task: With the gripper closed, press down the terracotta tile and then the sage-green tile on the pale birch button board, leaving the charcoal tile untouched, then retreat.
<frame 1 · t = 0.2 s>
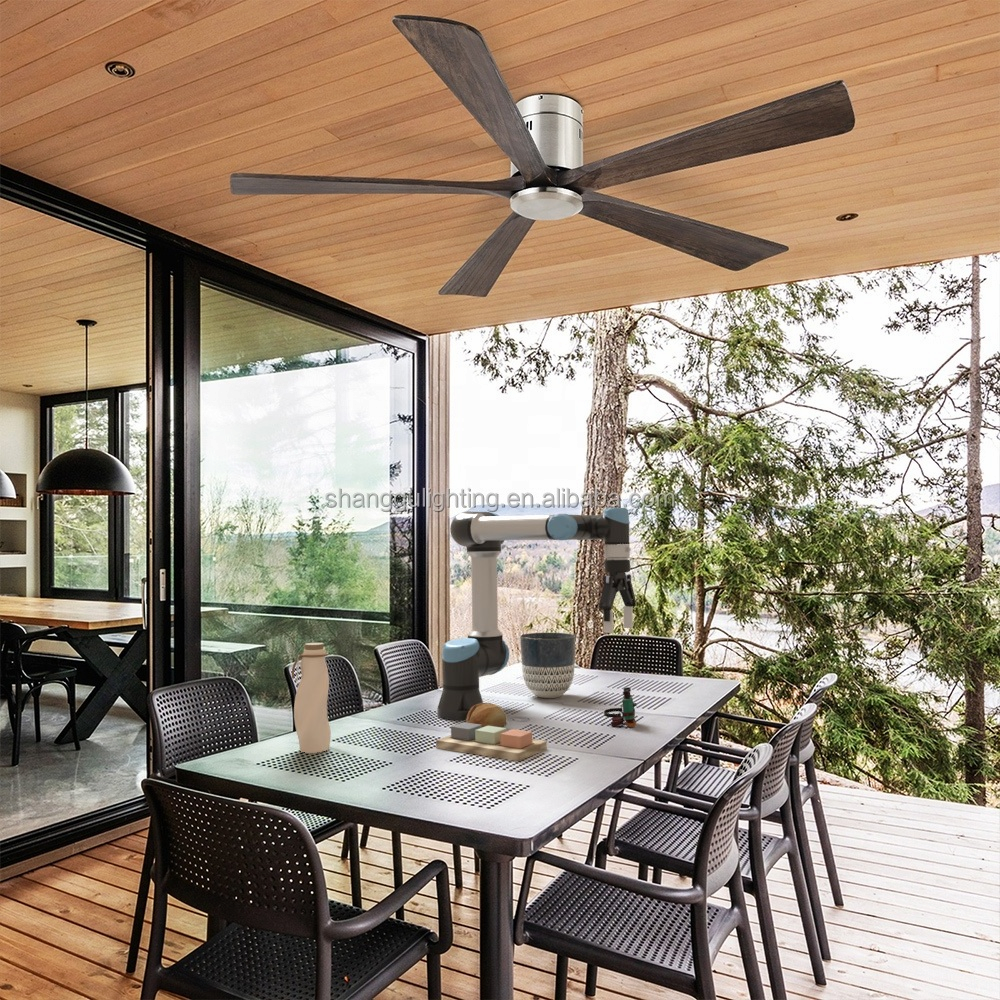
hand: (618, 630, 238), 28 cm above the table, fingers open, 13 cm apart
binoculars: (620, 725, 237), on the table
sage tile: (491, 734, 212), point 4 cm above the table, slide at 0.0 cm
charcoal tile: (466, 731, 216), point 3 cm above the table, slide at 0.0 cm
terracotta tile: (516, 738, 207), point 3 cm above the table, slide at 0.0 cm
board: (491, 748, 212), on the table
bread roll: (485, 732, 231), on the table
water bottle: (311, 750, 212), on the table
planter: (548, 697, 280), on the table
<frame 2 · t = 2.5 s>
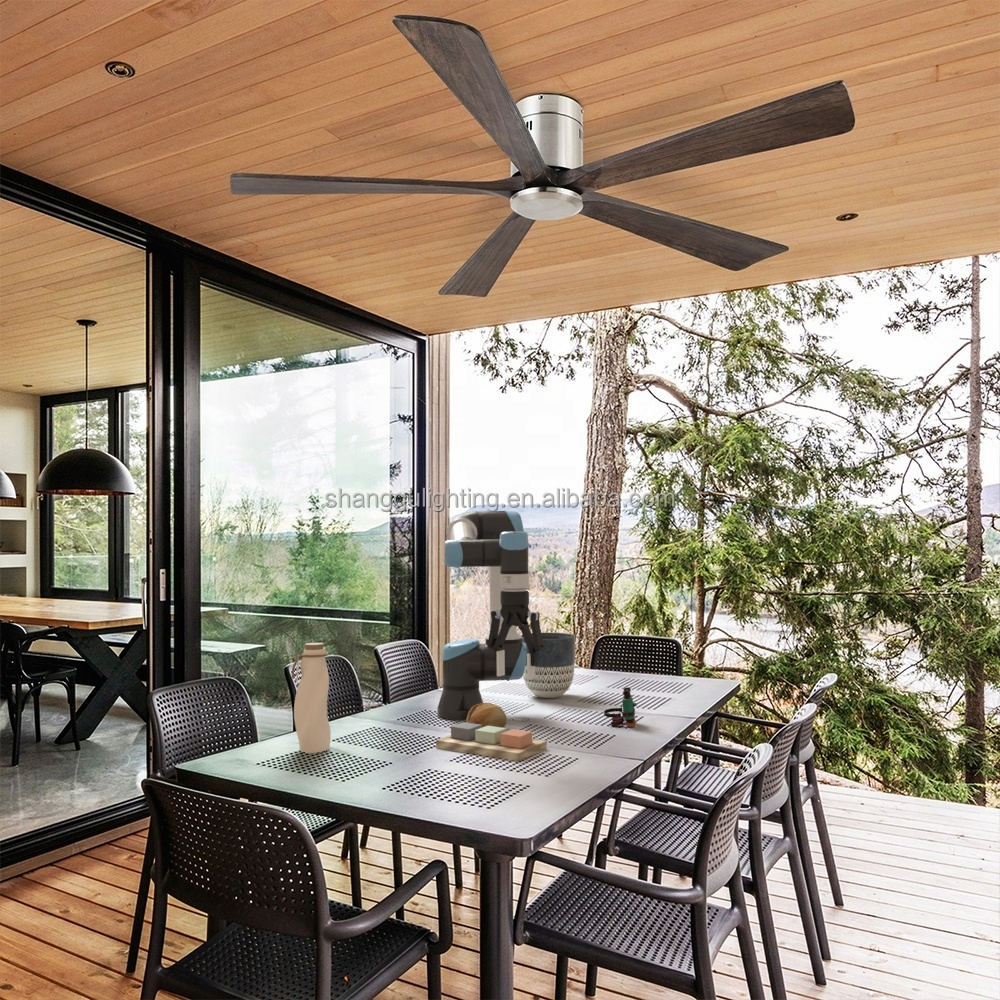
hand: (515, 676, 208), 19 cm above the table, fingers open, 9 cm apart
nothing on the table moved.
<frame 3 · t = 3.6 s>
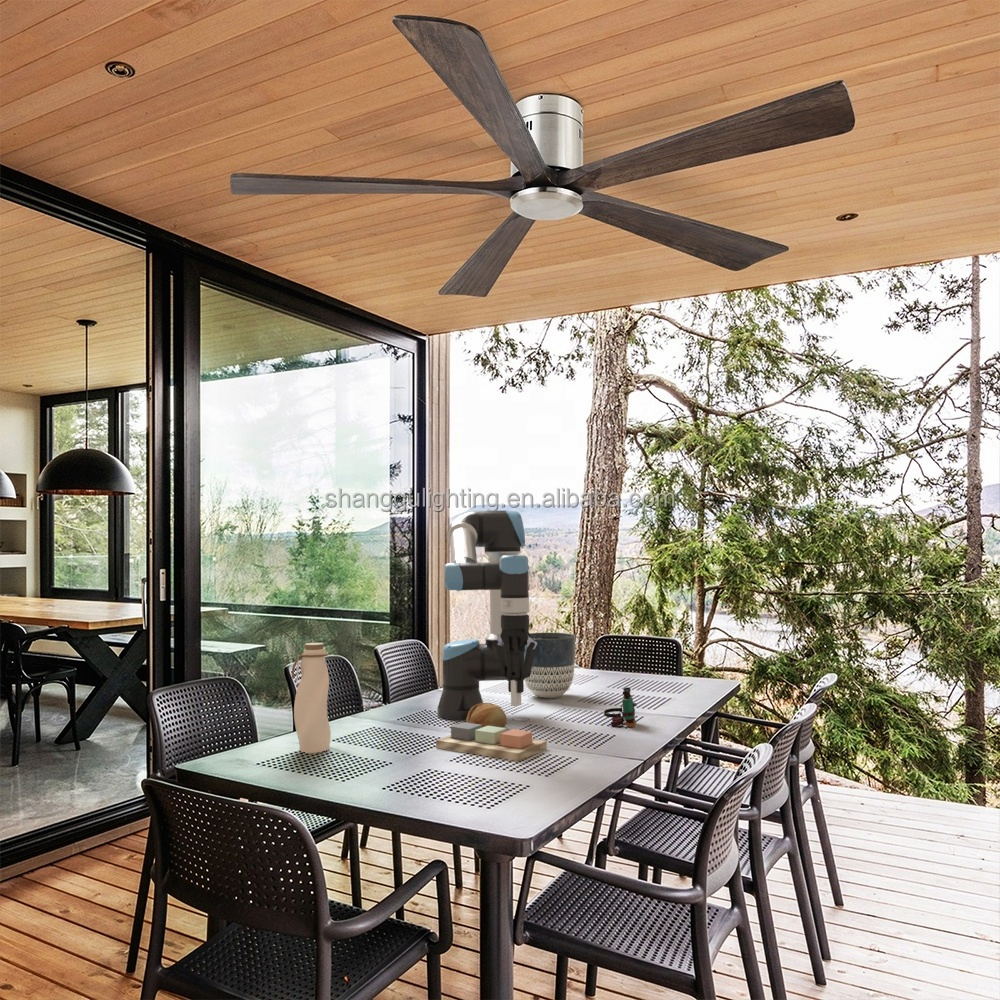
hand: (516, 705, 208), 12 cm above the table, fingers closed
nothing on the table moved.
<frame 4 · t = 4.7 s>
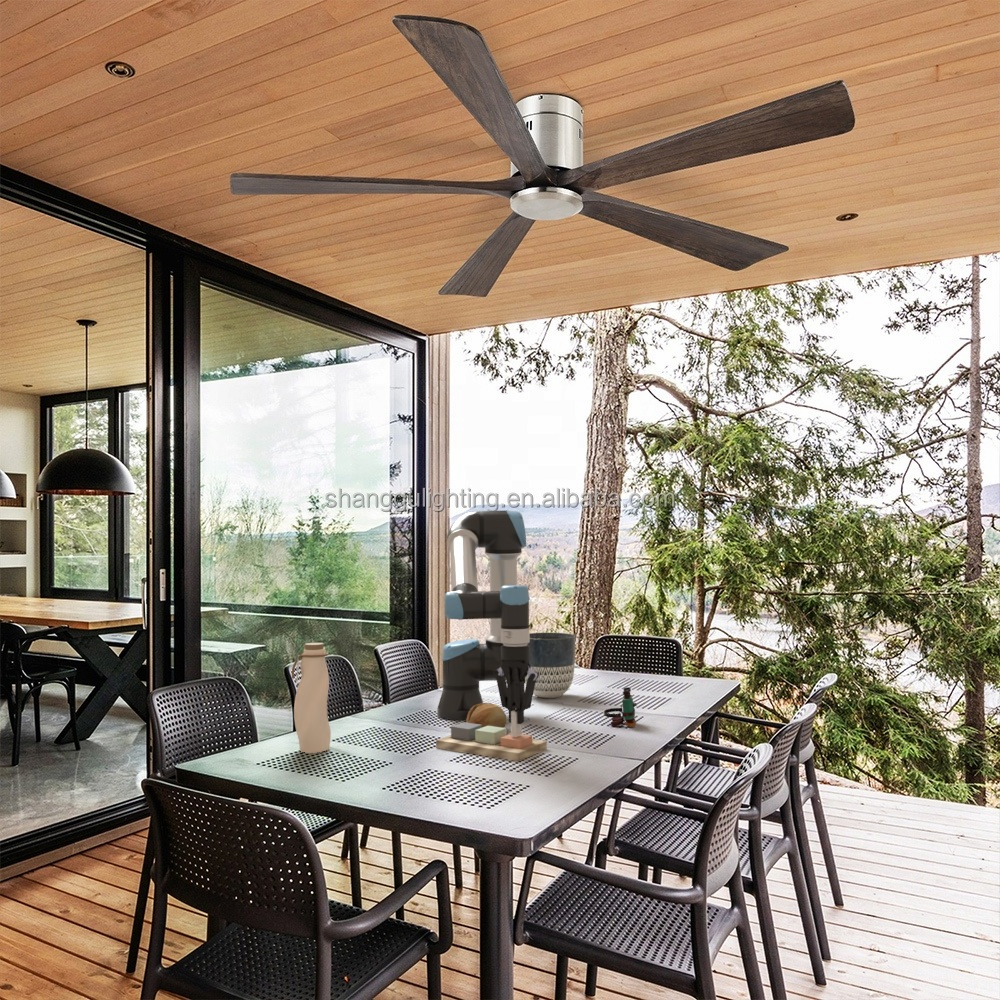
hand: (516, 735, 207), 4 cm above the table, fingers closed
terracotta tile: (516, 742, 207), point 2 cm above the table, slide at 1.0 cm, touching gripper
everything else where it was.
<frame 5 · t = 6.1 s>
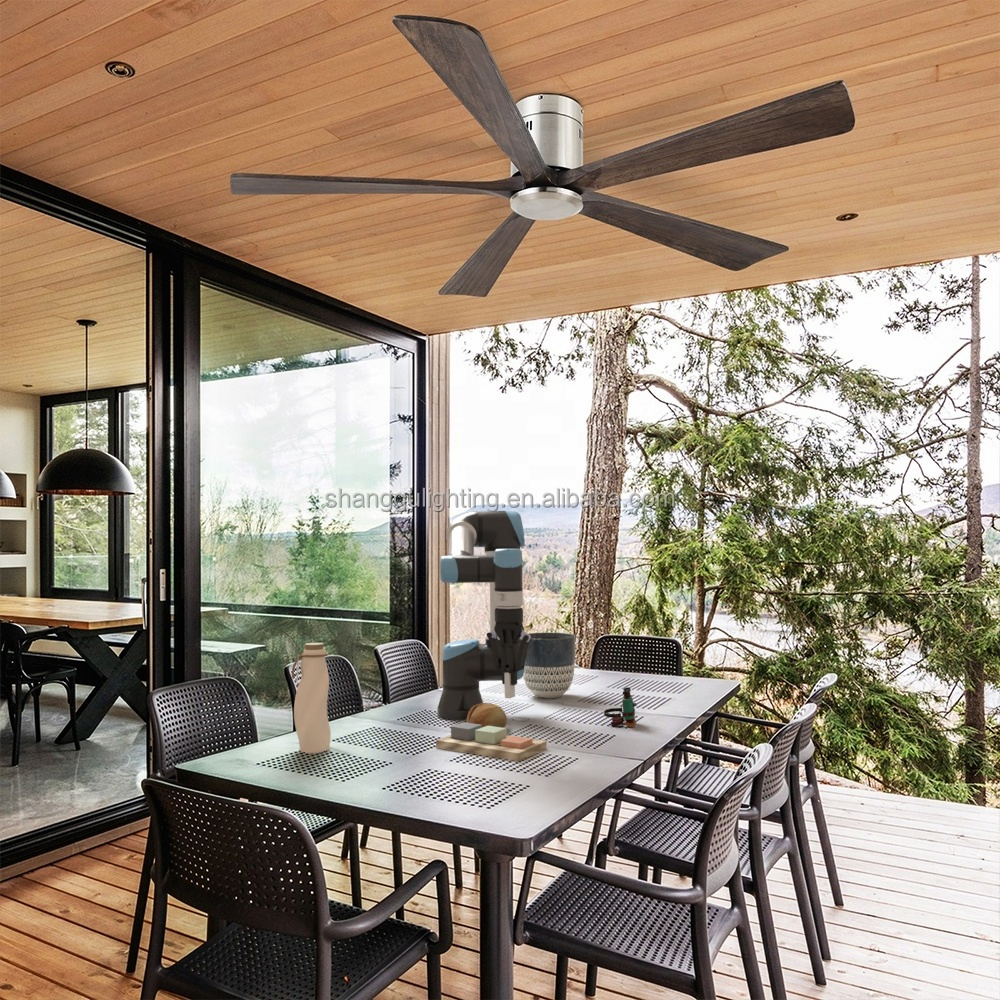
hand: (509, 697, 209), 14 cm above the table, fingers closed
terracotta tile: (516, 745, 207), point 2 cm above the table, slide at 1.7 cm
everything else where it was.
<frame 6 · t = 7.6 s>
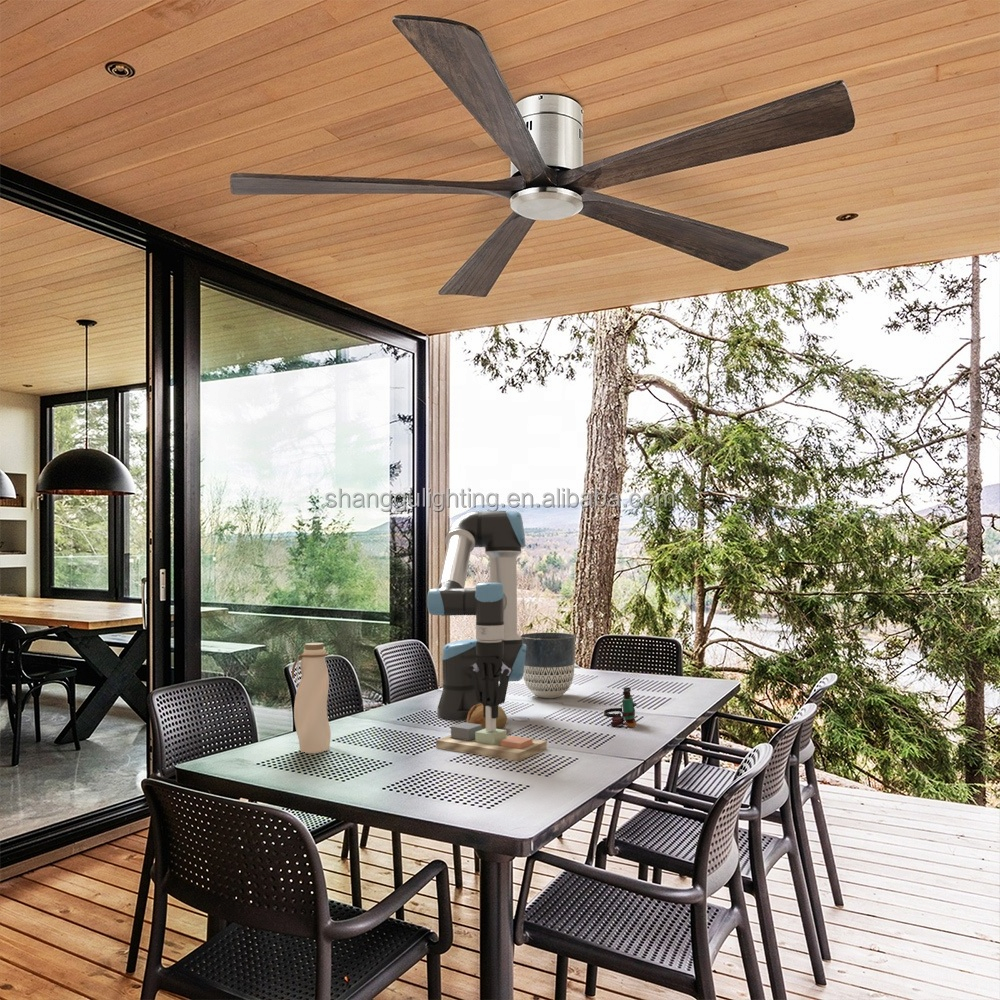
hand: (490, 730, 212), 5 cm above the table, fingers closed
sage tile: (491, 736, 212), point 3 cm above the table, slide at 0.5 cm, touching gripper
everything else where it was.
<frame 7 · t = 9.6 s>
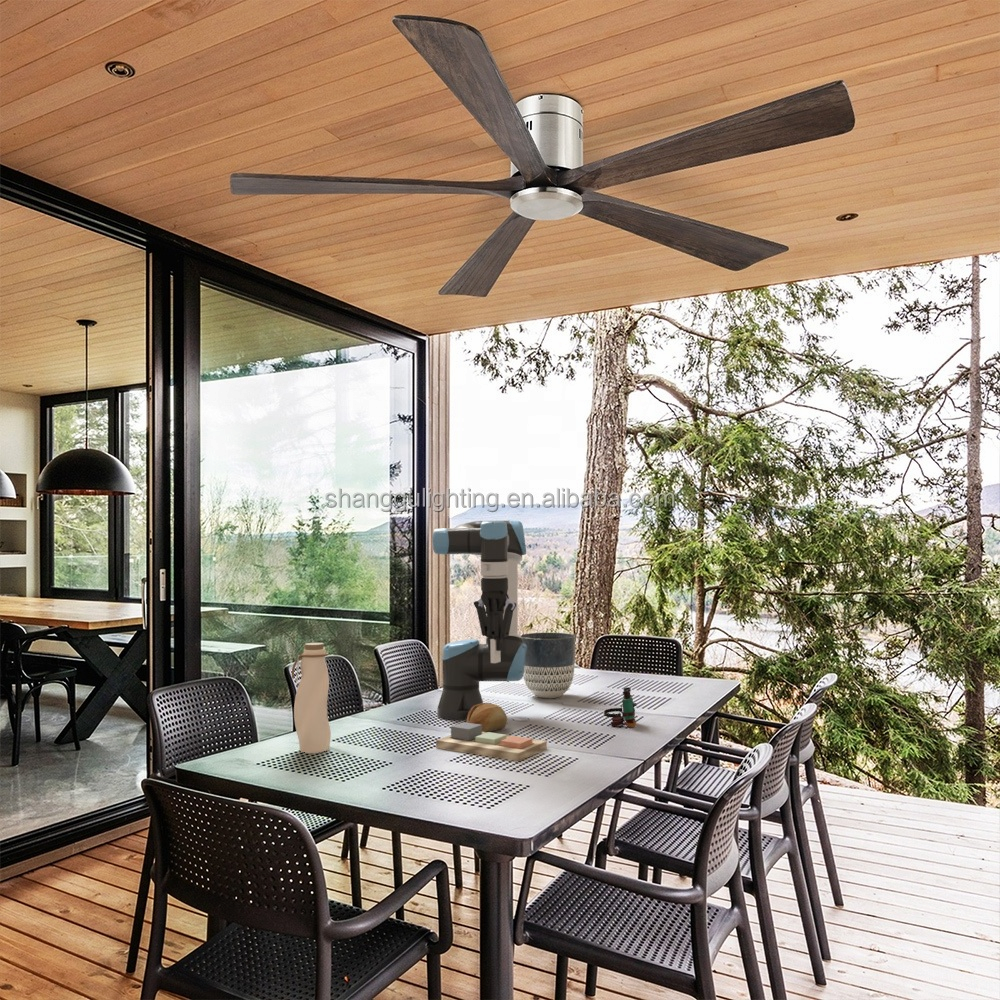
hand: (495, 662, 221), 21 cm above the table, fingers closed
sage tile: (491, 741, 212), point 2 cm above the table, slide at 1.7 cm
everything else where it was.
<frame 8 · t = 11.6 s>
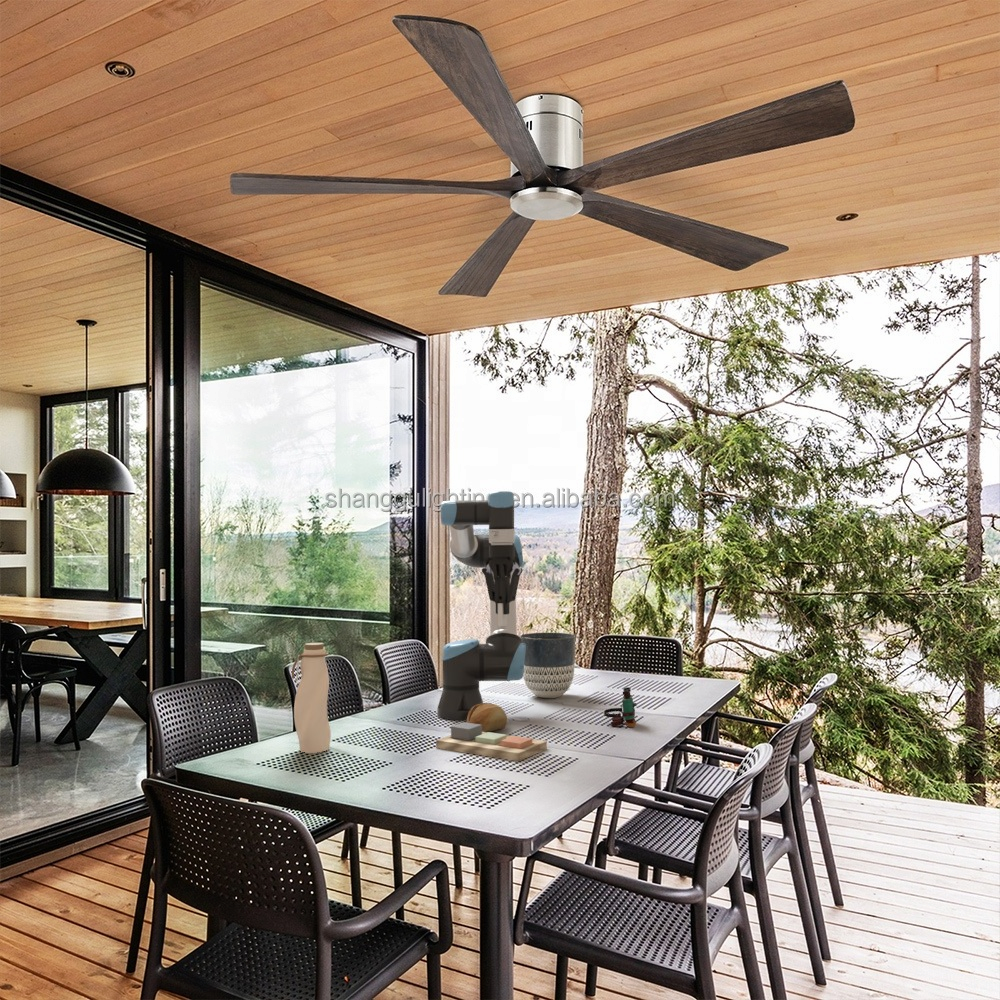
hand: (502, 625, 231), 30 cm above the table, fingers closed
nothing on the table moved.
at the end: terracotta tile slide at 1.7 cm; sage tile slide at 1.7 cm; charcoal tile slide at 0.0 cm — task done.
